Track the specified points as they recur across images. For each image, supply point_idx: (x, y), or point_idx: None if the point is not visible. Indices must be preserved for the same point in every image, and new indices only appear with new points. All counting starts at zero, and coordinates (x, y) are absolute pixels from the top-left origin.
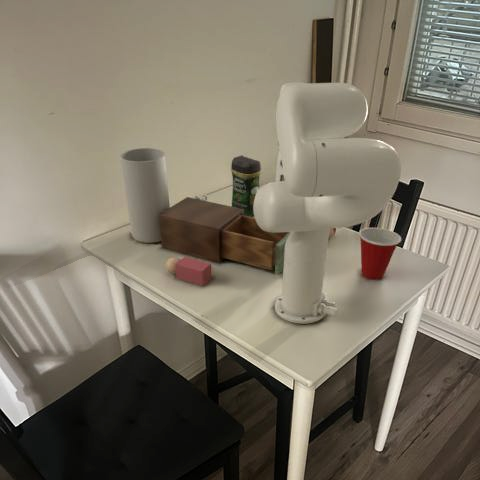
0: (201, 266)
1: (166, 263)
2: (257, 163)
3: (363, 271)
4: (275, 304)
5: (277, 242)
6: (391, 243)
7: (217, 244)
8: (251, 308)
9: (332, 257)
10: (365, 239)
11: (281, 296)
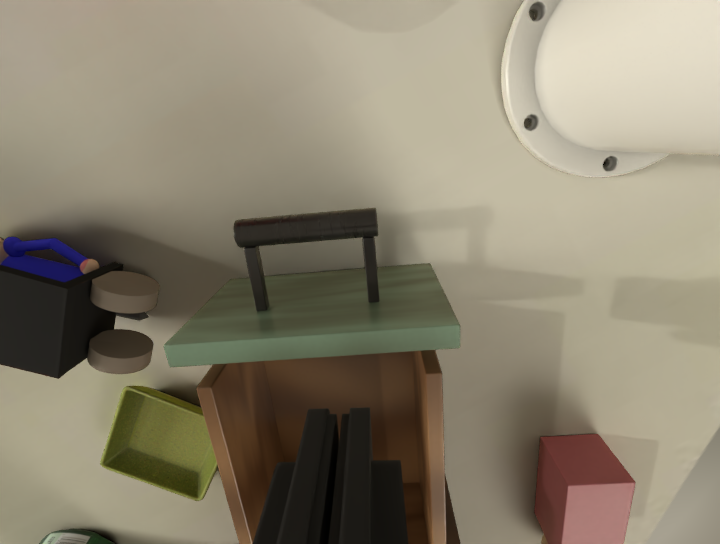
0: (603, 499)
1: None
2: None
3: None
4: (654, 162)
5: (257, 377)
6: None
7: (458, 536)
8: (671, 238)
9: (140, 148)
10: None
11: (586, 171)
